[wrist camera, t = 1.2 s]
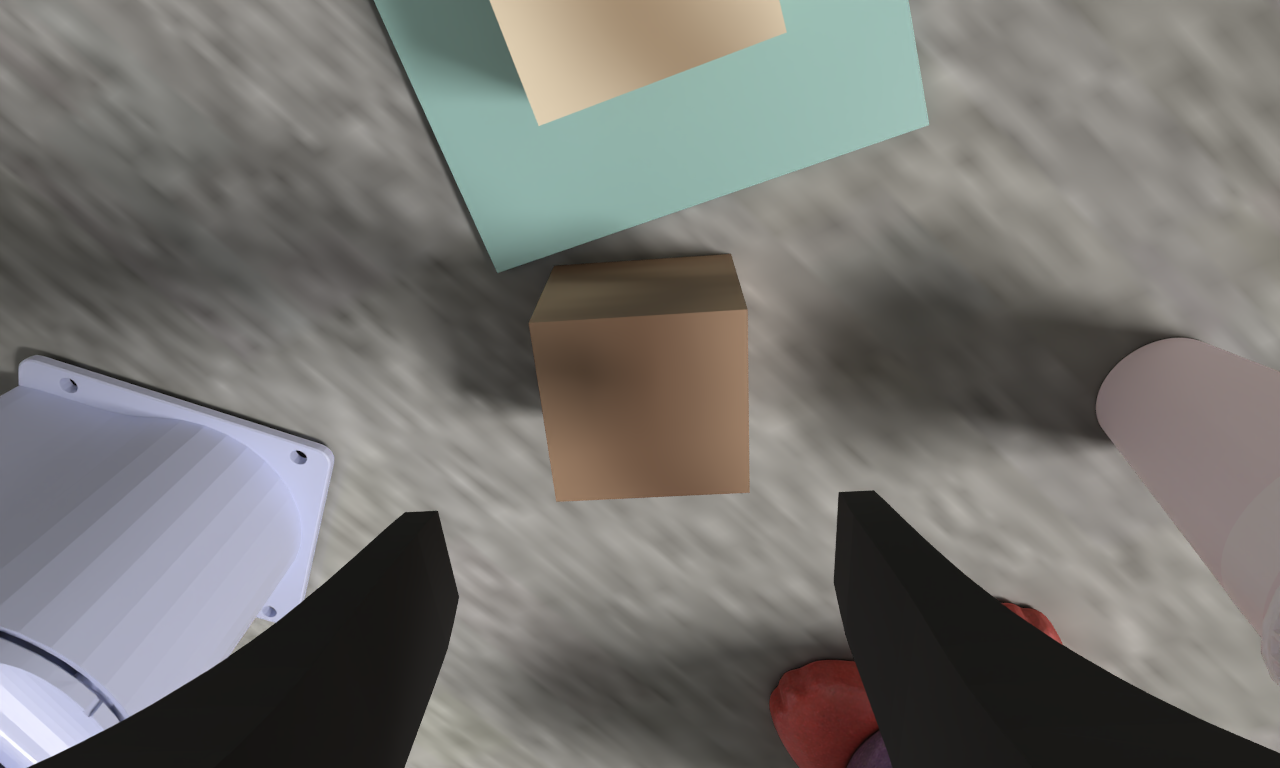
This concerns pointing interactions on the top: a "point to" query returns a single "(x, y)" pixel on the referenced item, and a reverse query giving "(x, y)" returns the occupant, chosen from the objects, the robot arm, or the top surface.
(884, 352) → the top surface
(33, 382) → the robot arm
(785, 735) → the stacking bear
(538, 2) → the maple block
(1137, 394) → the smoothie
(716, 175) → the mat
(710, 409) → the walnut block
